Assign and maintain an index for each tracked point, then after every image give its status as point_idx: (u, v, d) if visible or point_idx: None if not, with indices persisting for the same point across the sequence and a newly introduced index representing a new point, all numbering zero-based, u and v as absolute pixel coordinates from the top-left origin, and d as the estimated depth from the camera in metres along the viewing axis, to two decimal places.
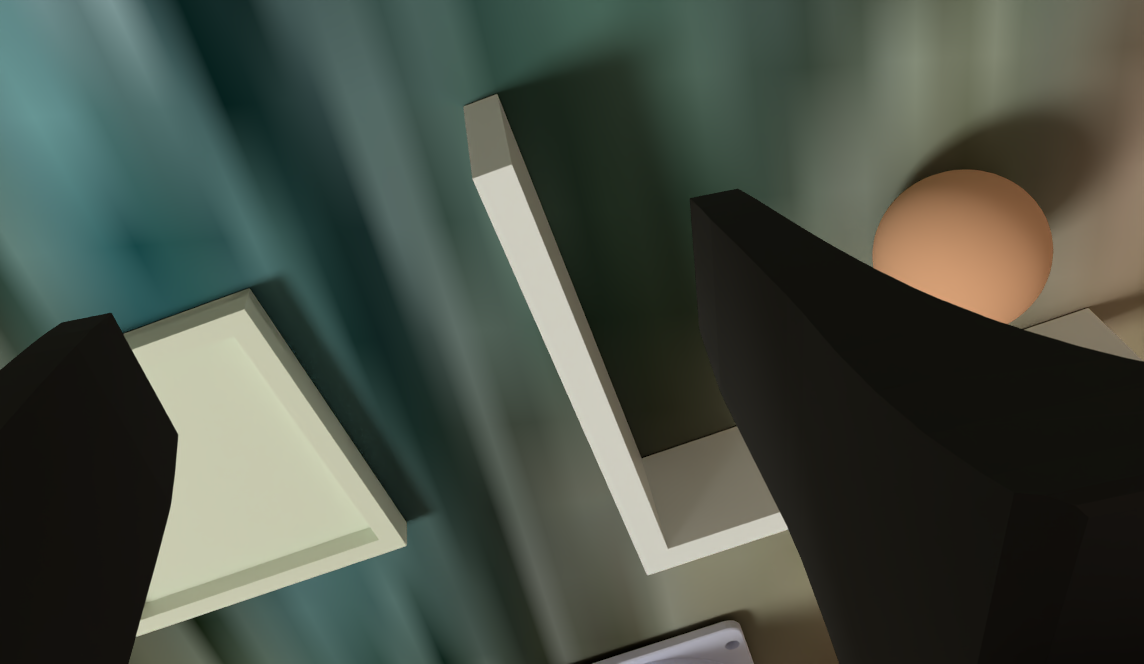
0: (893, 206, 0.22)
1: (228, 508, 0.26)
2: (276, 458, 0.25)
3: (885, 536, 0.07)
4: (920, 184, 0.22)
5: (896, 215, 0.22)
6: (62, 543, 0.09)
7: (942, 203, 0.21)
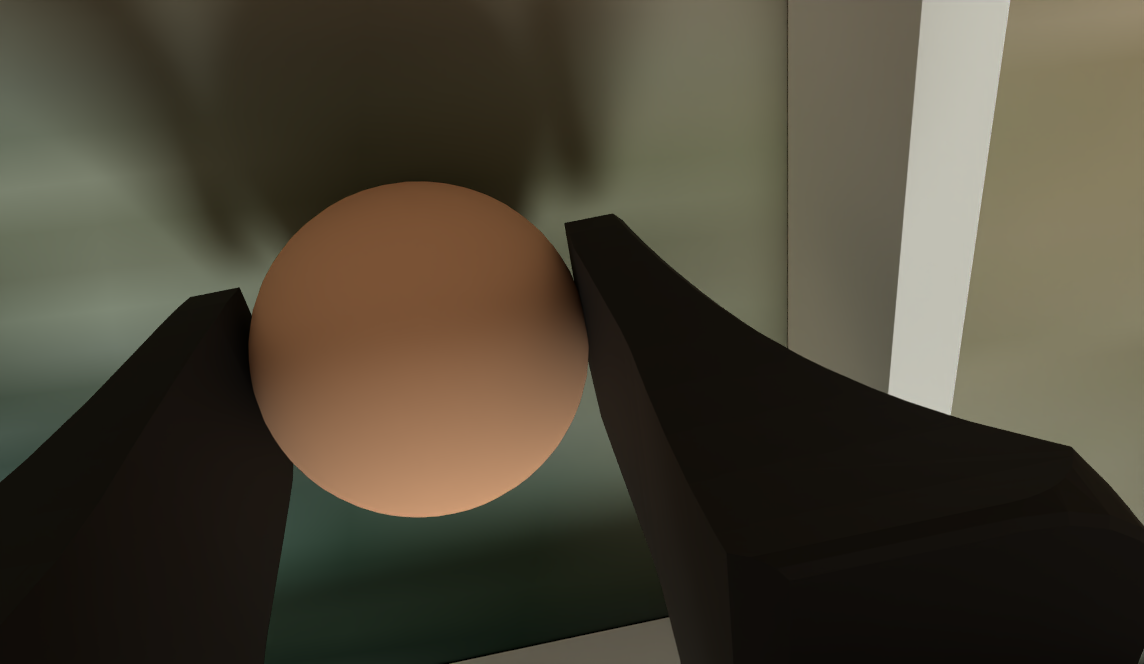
0: None
1: None
2: None
3: (688, 577, 0.07)
4: None
5: None
6: (214, 512, 0.09)
7: None
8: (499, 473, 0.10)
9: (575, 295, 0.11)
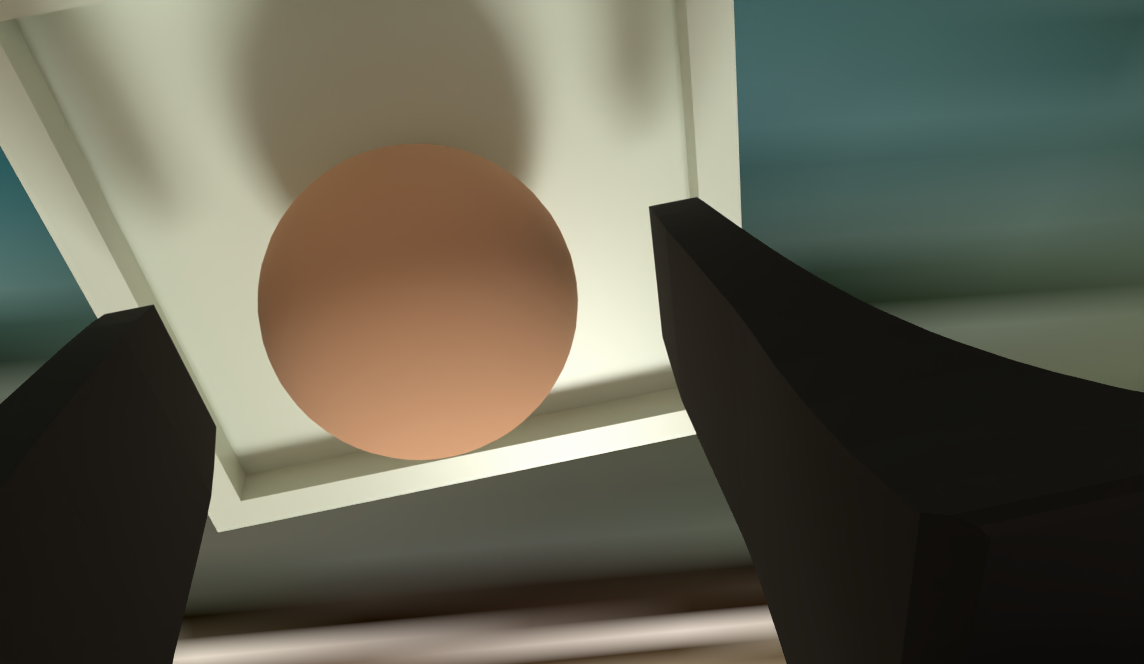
0: None
1: (516, 175, 0.13)
2: (402, 48, 0.12)
3: (821, 550, 0.07)
4: None
5: None
6: (113, 533, 0.09)
7: None
8: (495, 414, 0.11)
9: (565, 250, 0.11)
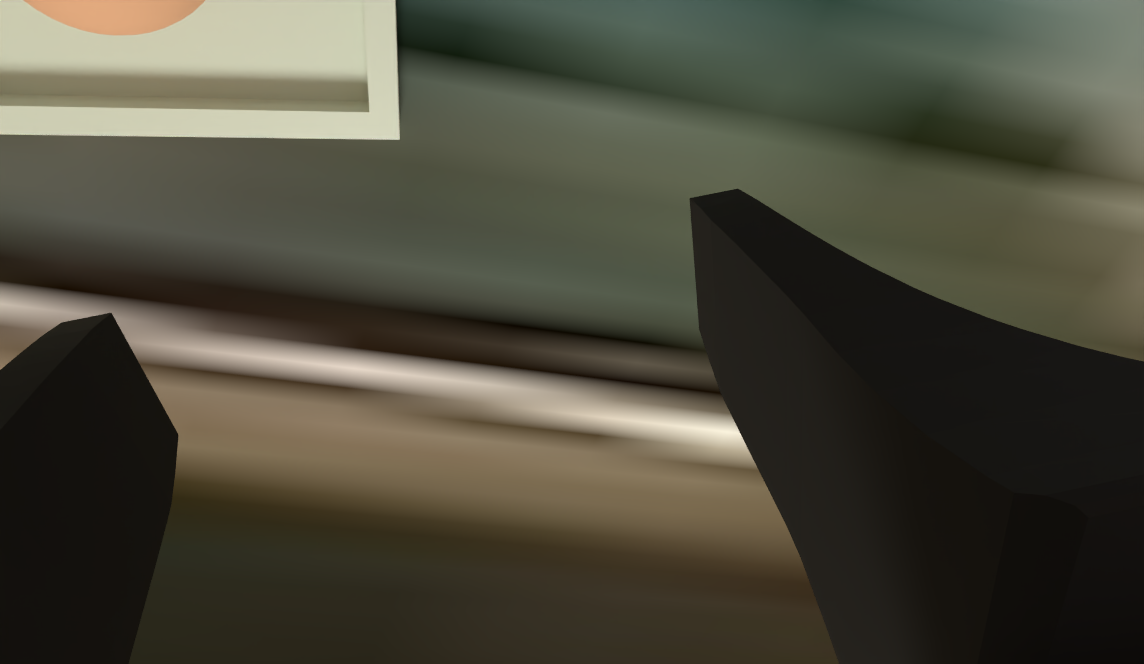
0: None
1: None
2: None
3: (885, 536, 0.07)
4: None
5: None
6: (62, 543, 0.09)
7: None
8: None
9: None
